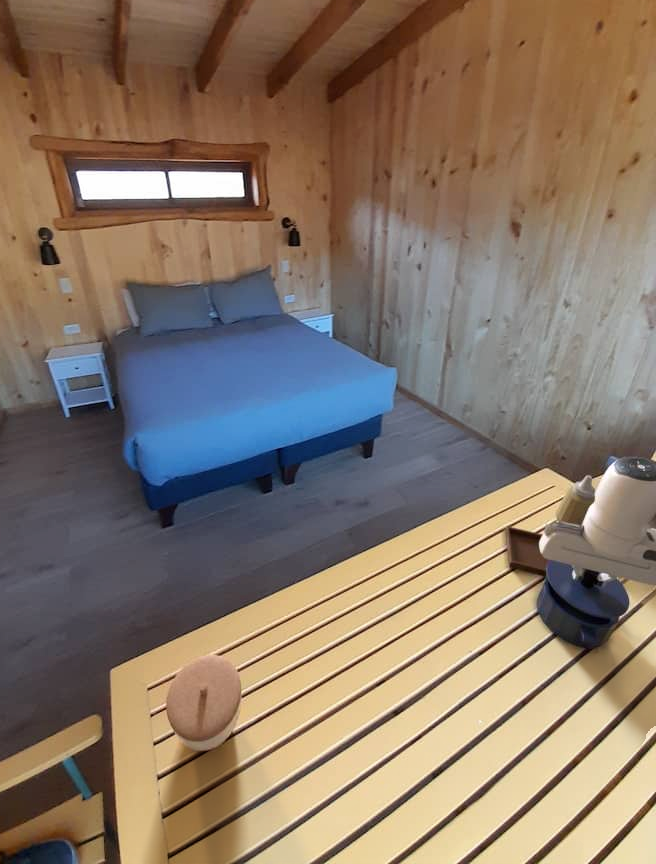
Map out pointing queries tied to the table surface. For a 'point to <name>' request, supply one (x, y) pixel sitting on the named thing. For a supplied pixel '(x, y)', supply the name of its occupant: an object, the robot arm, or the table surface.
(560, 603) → the pot
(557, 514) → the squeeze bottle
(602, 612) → the lid
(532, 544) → the tray
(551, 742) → the table surface
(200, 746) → the lidded bowl
